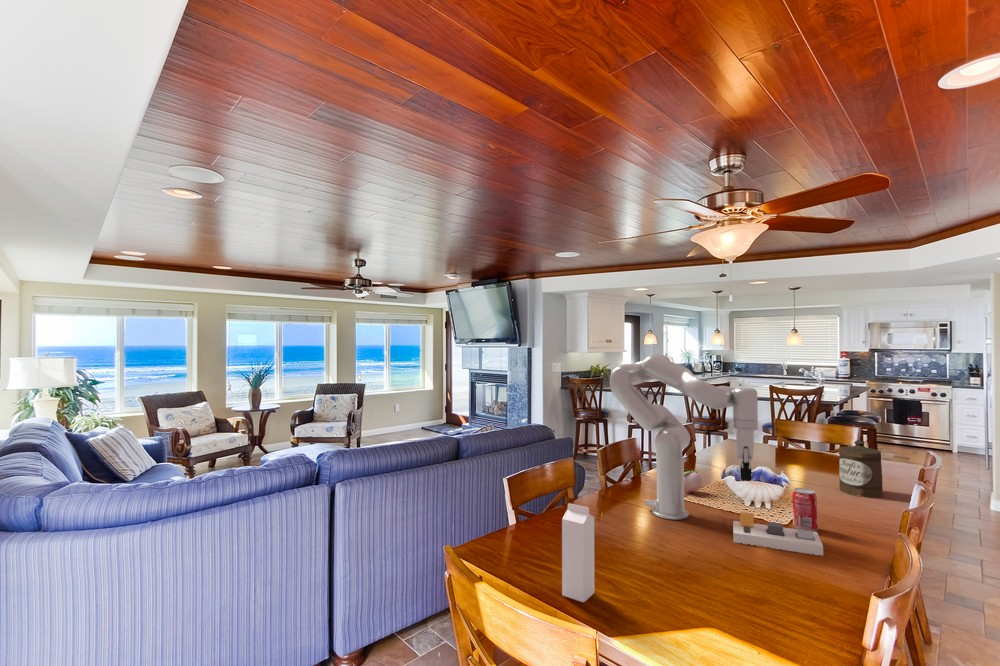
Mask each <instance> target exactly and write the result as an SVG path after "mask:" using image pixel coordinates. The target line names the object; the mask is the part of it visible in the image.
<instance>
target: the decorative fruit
mask: <svg viewBox="0 0 1000 666" xmlns="http://www.w3.org/2000/svg"><path fill="white" fill-rule="evenodd" d="M702 483H703V479H702V476H701V475H700V474H699V473H698V472H697V470H692V469H691V468H690V469H689V470H688V471H684V491H686V492H688V493H689V494H690V493H693V492H695V491H698V490H699V489H700V488H701V487H702V485H703V484H702Z"/></svg>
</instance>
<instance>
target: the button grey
mask: <svg viewBox="0 0 1000 666" xmlns="http://www.w3.org/2000/svg"><path fill="white" fill-rule="evenodd" d="M795 529H796V537H797V538H799V539H806V540H813V530H812V528H811V527H805V526H798V525H796V528H795Z"/></svg>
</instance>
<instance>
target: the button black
mask: <svg viewBox="0 0 1000 666" xmlns="http://www.w3.org/2000/svg"><path fill="white" fill-rule="evenodd" d="M767 525H768V534H772V535H779V536H783V528H784V526H783V523H781V522H776V521H775V522H774V521H767Z"/></svg>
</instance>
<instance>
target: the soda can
mask: <svg viewBox="0 0 1000 666" xmlns="http://www.w3.org/2000/svg"><path fill="white" fill-rule="evenodd" d="M792 525H793V527H794V529H796V525H798V526H805V527H811V528H812V530H813V532H817V530H819V529H818V527H819V525H818V497H817V495H816V492H815V490H813V489H809V488H804V487H798V488H797V487H796V488H794V489H793V492H792Z"/></svg>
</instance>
